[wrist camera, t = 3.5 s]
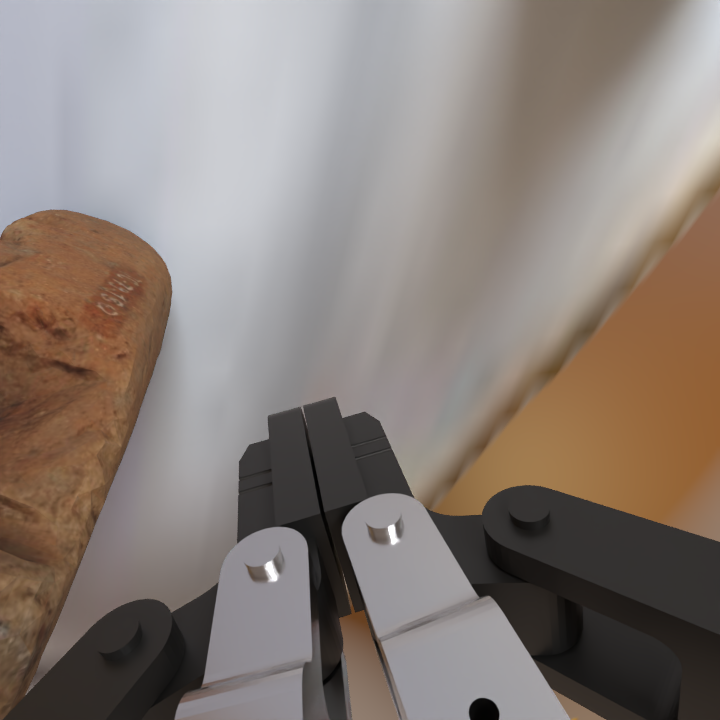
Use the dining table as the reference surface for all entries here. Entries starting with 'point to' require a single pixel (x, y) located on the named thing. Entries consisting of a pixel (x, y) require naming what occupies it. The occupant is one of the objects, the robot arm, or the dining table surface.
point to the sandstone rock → (65, 407)
